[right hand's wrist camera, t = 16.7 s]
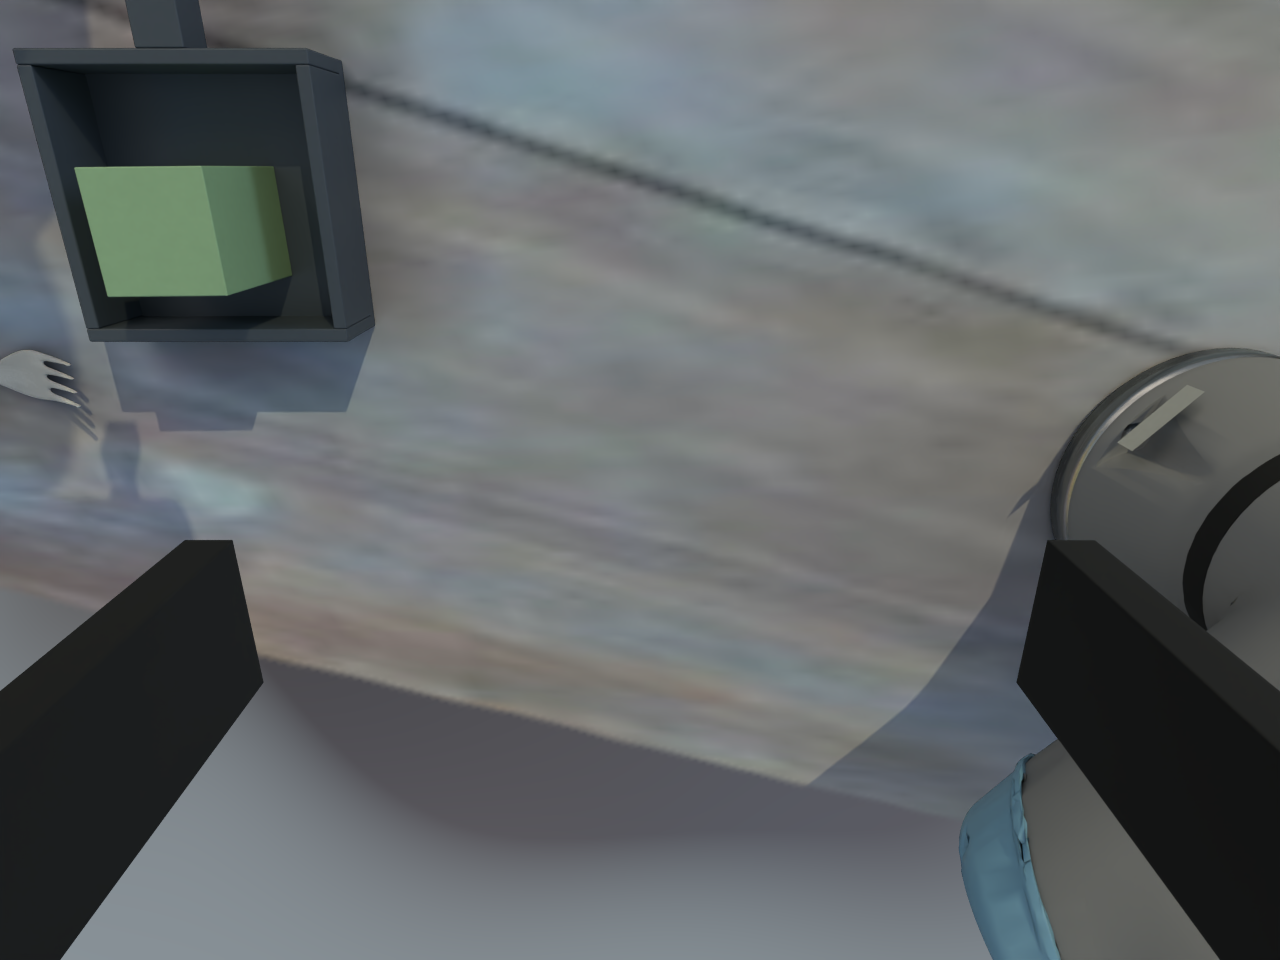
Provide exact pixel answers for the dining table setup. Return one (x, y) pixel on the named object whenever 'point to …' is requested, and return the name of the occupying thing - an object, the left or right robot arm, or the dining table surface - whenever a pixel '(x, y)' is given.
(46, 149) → the pan
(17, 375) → the fork
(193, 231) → the block
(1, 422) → the dining table surface
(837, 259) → the dining table surface
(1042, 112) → the dining table surface
